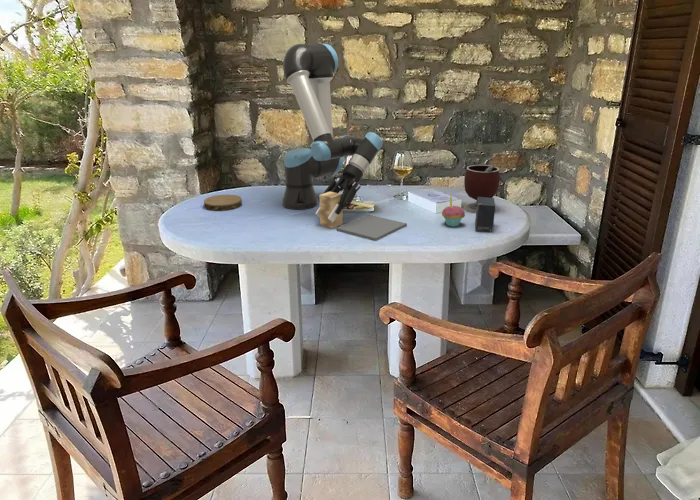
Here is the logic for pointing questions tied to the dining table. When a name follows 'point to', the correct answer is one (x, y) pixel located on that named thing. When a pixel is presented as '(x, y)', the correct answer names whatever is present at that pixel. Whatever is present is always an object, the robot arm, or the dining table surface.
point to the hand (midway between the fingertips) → (324, 217)
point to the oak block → (329, 209)
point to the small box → (485, 214)
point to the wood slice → (223, 202)
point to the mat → (371, 227)
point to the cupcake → (453, 214)
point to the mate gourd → (480, 183)
